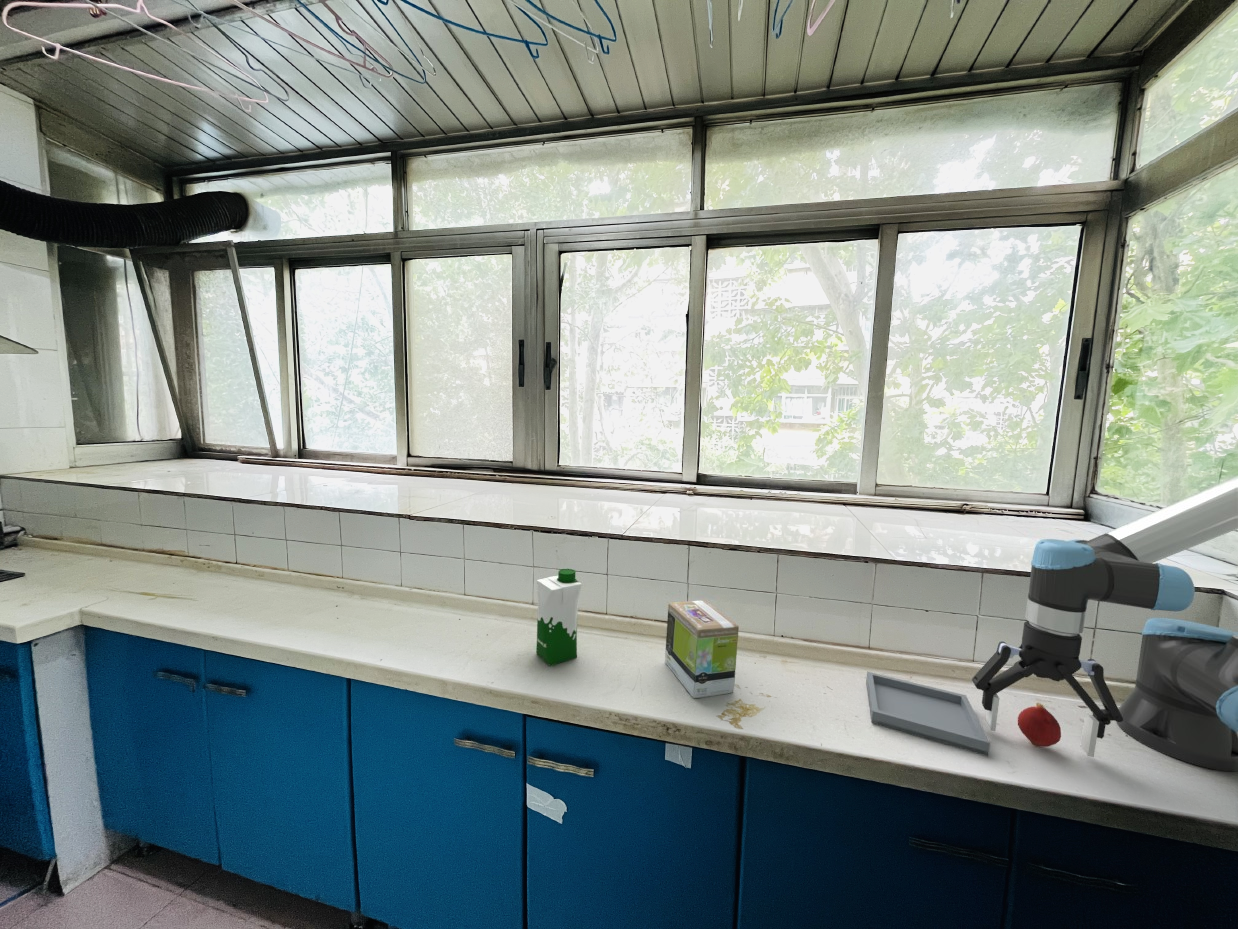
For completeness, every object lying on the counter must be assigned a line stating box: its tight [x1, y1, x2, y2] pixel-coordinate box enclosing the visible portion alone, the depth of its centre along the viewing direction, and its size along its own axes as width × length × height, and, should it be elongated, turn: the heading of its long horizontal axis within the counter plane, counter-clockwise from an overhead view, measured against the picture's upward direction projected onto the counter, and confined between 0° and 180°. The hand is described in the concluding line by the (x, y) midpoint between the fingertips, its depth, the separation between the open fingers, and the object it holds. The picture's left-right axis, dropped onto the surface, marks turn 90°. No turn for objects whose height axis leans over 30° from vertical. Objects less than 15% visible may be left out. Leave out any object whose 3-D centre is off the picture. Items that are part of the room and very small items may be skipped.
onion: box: [1017, 702, 1062, 748], centre depth 82 cm, size 6×6×8 cm
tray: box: [865, 671, 991, 757], centre depth 90 cm, size 18×16×2 cm
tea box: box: [664, 599, 740, 699], centre depth 100 cm, size 15×10×15 cm
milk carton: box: [535, 568, 583, 667], centre depth 106 cm, size 9×9×20 cm
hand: (1036, 739), depth 83 cm, fingers open, 13 cm apart
